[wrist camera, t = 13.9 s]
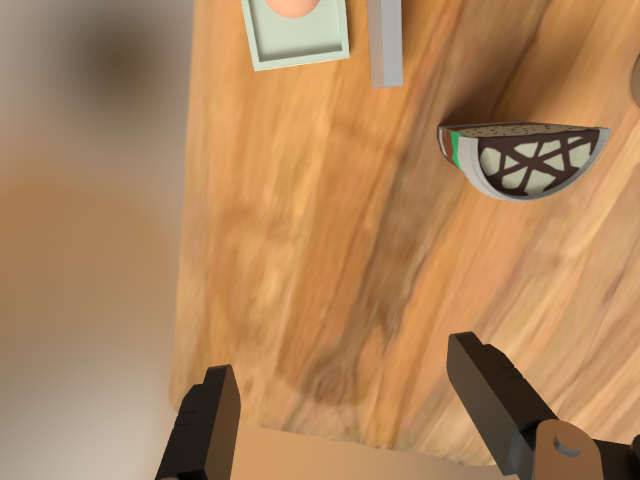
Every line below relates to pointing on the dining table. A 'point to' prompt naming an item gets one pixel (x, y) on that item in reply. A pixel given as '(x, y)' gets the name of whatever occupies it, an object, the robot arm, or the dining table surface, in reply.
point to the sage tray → (296, 35)
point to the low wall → (385, 43)
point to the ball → (292, 7)
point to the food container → (521, 156)
